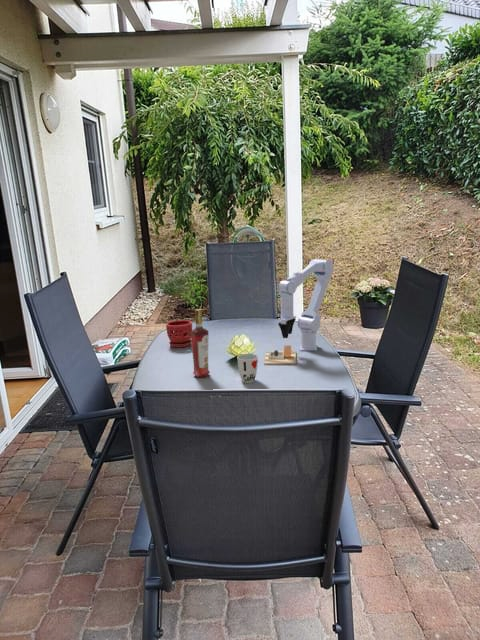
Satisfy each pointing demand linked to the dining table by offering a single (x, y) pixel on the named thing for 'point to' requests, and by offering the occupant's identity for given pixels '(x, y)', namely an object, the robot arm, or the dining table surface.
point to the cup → (247, 367)
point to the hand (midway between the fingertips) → (287, 335)
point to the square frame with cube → (282, 353)
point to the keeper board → (280, 361)
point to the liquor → (200, 347)
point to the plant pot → (179, 333)
